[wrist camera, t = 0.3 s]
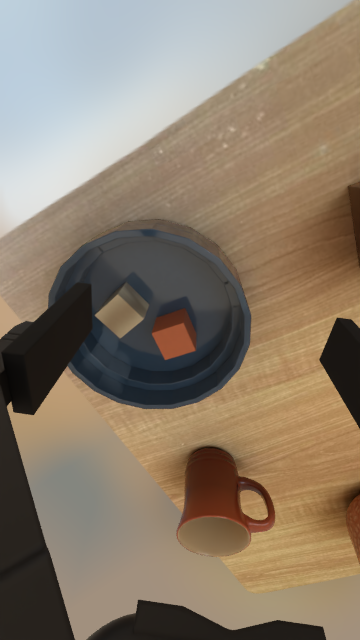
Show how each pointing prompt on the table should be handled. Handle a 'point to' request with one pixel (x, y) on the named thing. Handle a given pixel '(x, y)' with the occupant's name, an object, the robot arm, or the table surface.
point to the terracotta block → (174, 334)
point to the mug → (218, 506)
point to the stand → (356, 212)
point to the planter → (354, 524)
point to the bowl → (159, 314)
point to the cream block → (122, 310)
